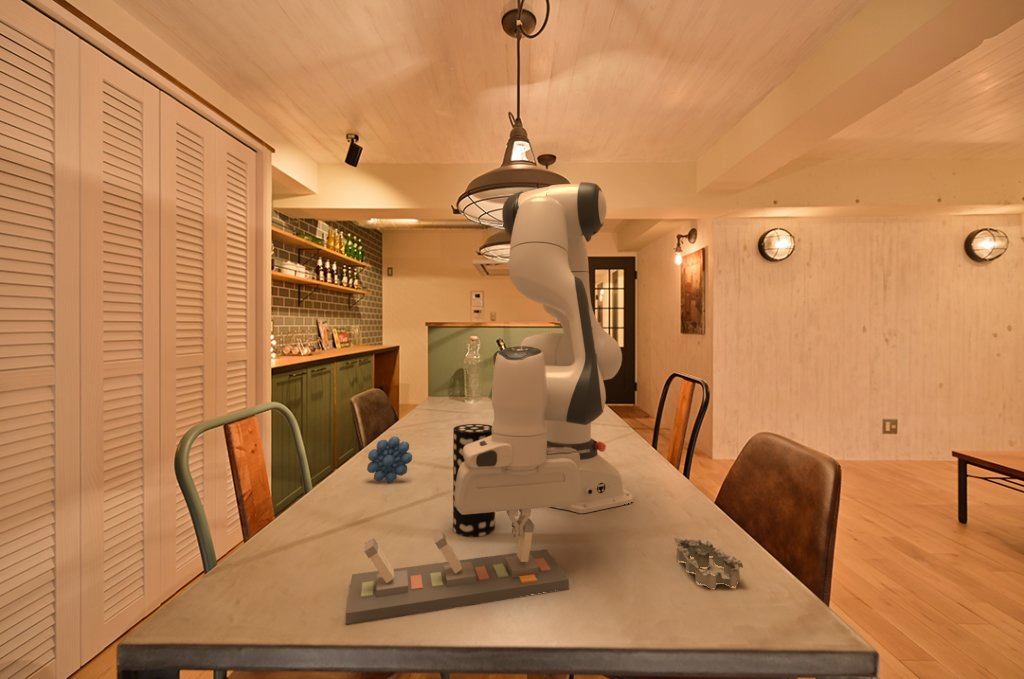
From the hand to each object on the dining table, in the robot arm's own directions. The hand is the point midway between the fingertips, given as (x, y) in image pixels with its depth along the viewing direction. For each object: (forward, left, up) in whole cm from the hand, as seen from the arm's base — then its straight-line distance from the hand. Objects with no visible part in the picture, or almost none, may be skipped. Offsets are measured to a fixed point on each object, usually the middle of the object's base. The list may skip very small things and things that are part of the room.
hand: (518, 535), depth 72 cm
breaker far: (+19, 0, -4) cm, 20 cm away
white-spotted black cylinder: (+3, -20, -7) cm, 21 cm away
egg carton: (-30, +6, -7) cm, 32 cm away
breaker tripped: (-1, 0, -4) cm, 4 cm away
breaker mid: (+9, 0, -4) cm, 10 cm away
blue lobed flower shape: (+19, -53, -7) cm, 57 cm away
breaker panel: (+9, 0, -7) cm, 12 cm away
